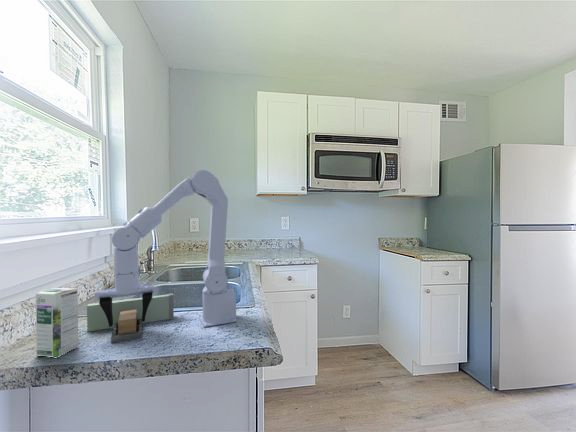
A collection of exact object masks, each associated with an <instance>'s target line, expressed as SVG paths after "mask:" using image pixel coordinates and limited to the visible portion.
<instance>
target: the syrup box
mask: <svg viewBox="0 0 576 432" xmlns="http://www.w3.org/2000/svg"><path fill="white" fill-rule="evenodd" d="M78 297H79V296H78V288H77V287H76V288H75V287H74V288H70V287H69V288H67V287H66V288H65V287H53V288H49V289H48V288H47V289H45V290H41V291H39V292H36V293H35V321H36V322H35V324H36V325H35V330H36V331H35V333H36V334H35V336H36V338H35V340H36V341H35V343H36V350H35V356H36V355H41V356H53V357H58V356H60V355H62V354H64V353H66V352H68V353H70V352H72V351H74V350H75V349H78V347H79V315H78V313H79V312H78V311H79V308H78V307H79V306H78V305H79V301H78V299H79V298H78ZM73 349H74V350H73ZM71 350H72V351H71ZM69 351H70V352H69ZM66 354H67V353H66ZM64 355H65V354H64Z"/></svg>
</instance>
